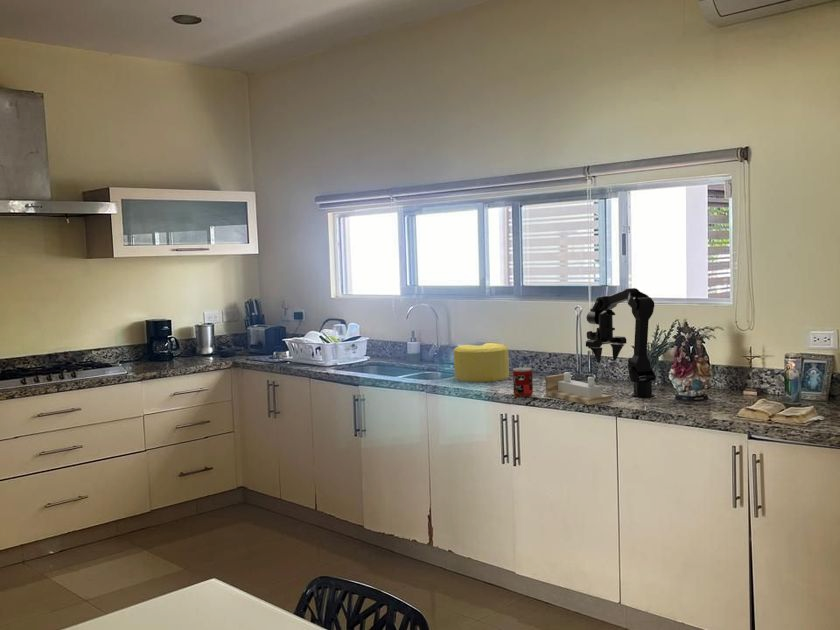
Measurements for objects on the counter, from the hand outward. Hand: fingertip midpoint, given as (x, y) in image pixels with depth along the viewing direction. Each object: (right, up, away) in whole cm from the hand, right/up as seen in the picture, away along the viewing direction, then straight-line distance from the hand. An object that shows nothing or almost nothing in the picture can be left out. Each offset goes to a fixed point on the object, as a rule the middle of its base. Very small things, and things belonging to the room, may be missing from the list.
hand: (606, 361), depth 337 cm
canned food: (-36, -14, -7) cm, 40 cm away
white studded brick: (-16, -12, -20) cm, 28 cm away
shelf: (-16, -14, -20) cm, 29 cm away
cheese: (-50, -10, +42) cm, 66 cm away
